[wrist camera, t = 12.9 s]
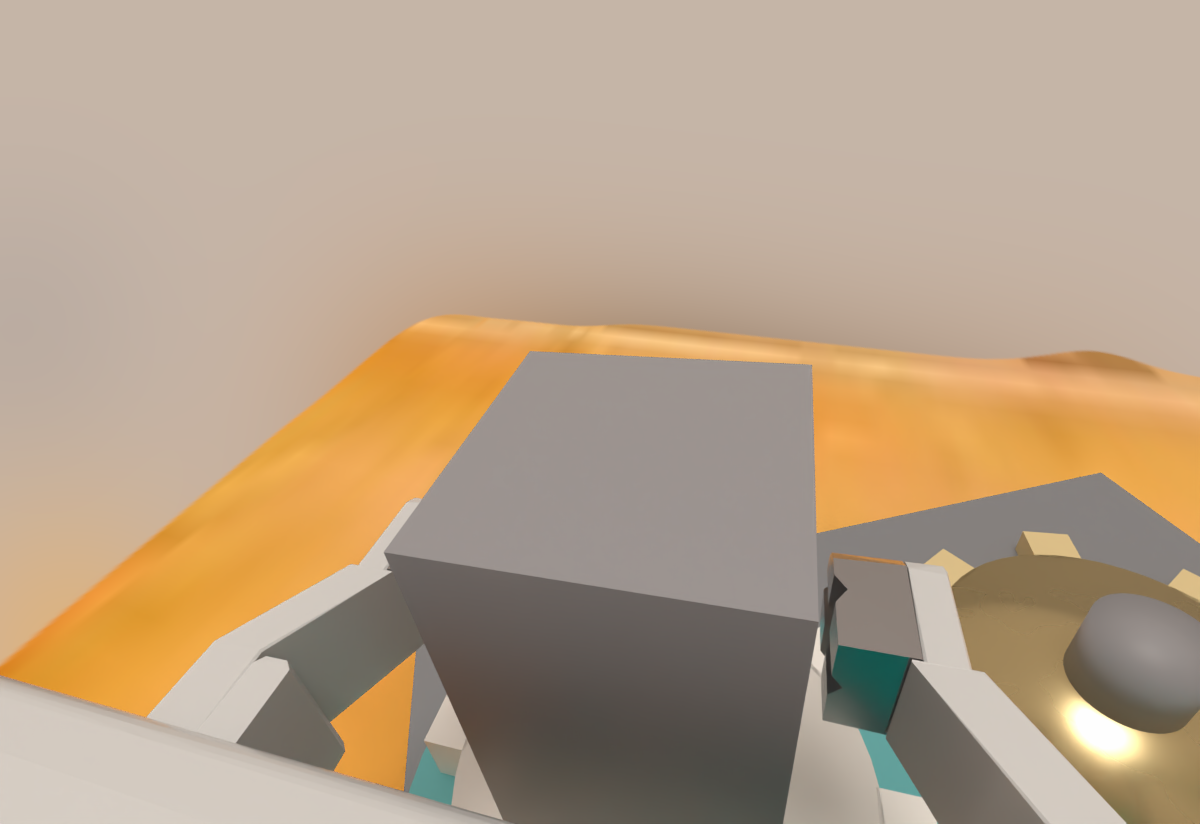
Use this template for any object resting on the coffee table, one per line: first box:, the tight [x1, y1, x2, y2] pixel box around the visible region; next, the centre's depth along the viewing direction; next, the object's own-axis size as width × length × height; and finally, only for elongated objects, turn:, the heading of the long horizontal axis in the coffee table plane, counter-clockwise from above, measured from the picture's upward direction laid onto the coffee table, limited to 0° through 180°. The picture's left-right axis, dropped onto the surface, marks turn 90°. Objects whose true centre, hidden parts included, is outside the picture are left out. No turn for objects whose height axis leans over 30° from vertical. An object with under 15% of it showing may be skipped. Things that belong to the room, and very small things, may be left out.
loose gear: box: [384, 351, 937, 824], centre depth 10 cm, size 10×10×10 cm
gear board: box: [404, 473, 1200, 824], centre depth 14 cm, size 24×14×4 cm, turn 101°
